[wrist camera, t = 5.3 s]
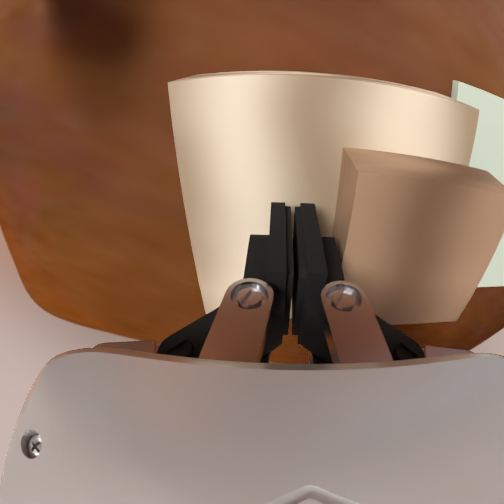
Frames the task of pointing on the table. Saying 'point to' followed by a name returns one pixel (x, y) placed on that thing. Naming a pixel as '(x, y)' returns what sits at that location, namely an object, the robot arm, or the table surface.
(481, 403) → the robot arm
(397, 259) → the walnut block
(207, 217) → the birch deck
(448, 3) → the table surface
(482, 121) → the sage mat
